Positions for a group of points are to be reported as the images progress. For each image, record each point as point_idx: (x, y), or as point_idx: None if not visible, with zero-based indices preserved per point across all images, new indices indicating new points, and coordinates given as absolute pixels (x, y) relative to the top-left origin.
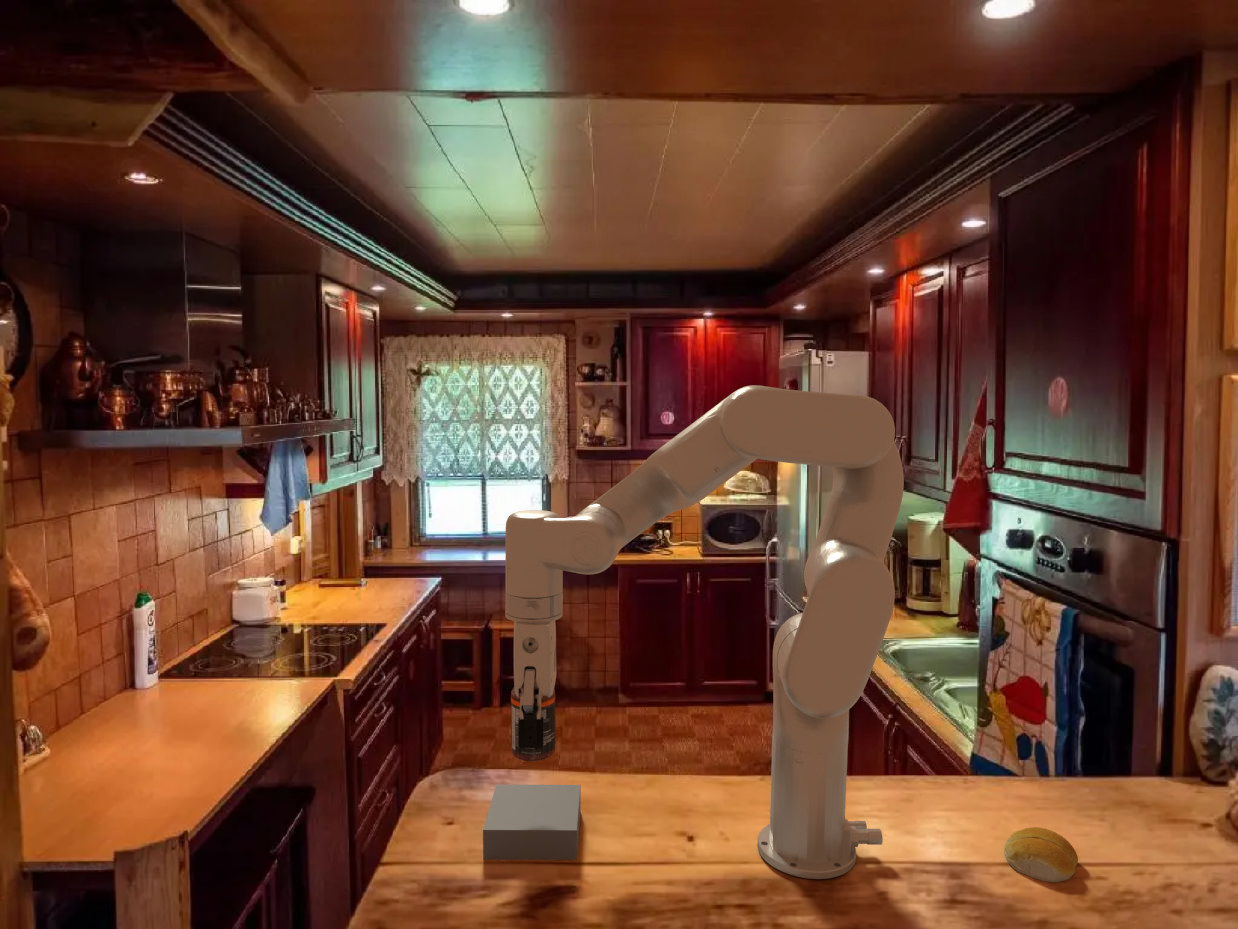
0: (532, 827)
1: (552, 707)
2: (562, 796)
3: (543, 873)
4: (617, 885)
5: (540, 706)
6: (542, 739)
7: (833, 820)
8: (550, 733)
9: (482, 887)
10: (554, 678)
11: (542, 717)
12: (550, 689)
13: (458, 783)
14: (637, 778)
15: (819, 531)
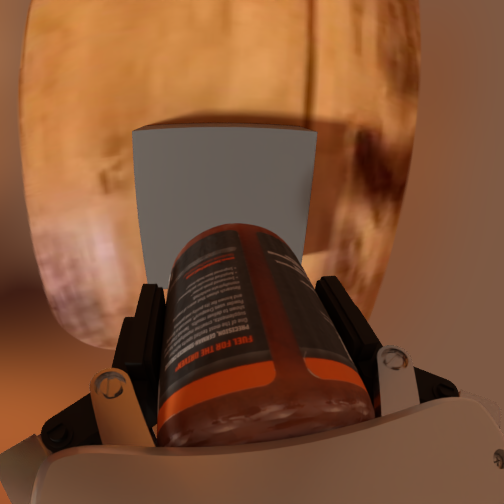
0: (300, 210)
1: (320, 342)
2: (184, 163)
3: (326, 175)
4: (362, 75)
5: (415, 389)
6: (343, 291)
7: None
8: (298, 273)
9: (343, 248)
10: (366, 490)
11: (366, 347)
12: (493, 421)
13: (92, 320)
14: (35, 49)
15: None
